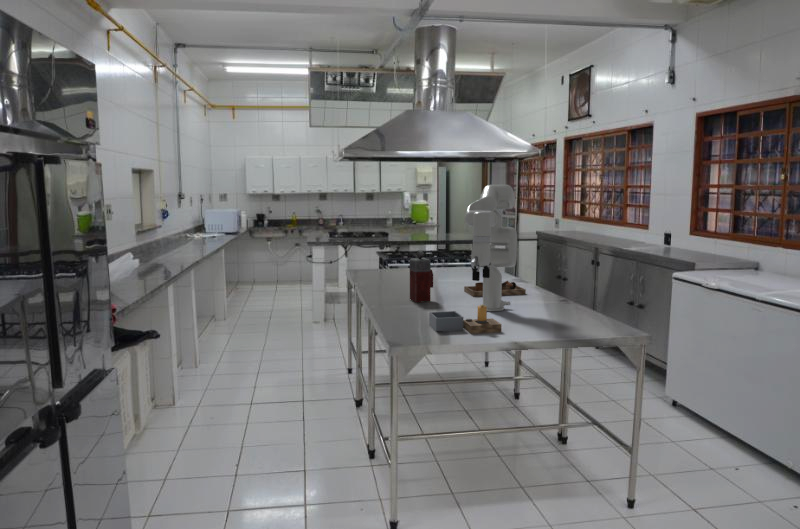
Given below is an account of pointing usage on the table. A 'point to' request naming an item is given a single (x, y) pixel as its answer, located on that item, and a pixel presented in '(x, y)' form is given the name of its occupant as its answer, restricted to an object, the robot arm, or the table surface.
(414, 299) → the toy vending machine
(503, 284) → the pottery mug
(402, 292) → the table surface
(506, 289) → the serving frame
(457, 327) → the bin
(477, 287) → the cup and saucer
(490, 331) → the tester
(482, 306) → the cylinder
